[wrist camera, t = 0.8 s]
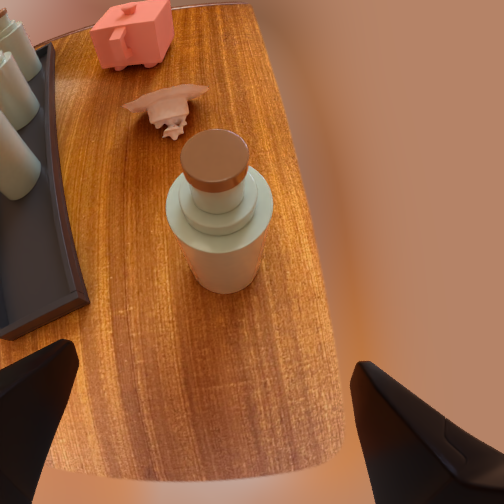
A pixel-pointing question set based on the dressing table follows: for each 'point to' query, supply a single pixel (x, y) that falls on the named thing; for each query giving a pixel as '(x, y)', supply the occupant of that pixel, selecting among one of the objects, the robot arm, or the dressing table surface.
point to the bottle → (220, 211)
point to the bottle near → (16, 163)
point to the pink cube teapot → (133, 34)
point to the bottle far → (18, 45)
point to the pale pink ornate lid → (167, 107)
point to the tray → (39, 229)
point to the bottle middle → (15, 93)
